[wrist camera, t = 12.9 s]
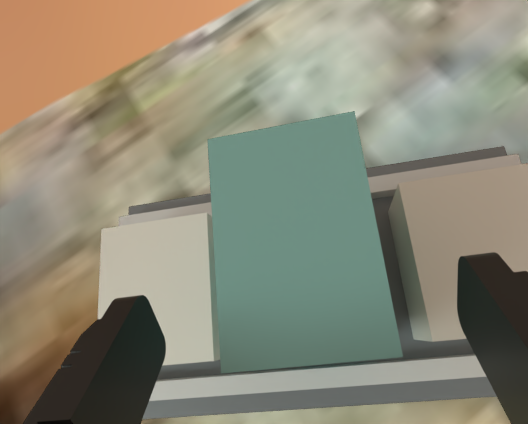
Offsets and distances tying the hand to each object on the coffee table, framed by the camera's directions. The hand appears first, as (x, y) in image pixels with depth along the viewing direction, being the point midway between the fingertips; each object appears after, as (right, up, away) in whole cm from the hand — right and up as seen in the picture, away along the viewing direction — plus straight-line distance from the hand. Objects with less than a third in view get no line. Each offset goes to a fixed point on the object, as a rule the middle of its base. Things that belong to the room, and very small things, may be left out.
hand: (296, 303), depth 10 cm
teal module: (+2, -1, +9) cm, 9 cm away
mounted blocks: (+2, -1, +9) cm, 9 cm away
